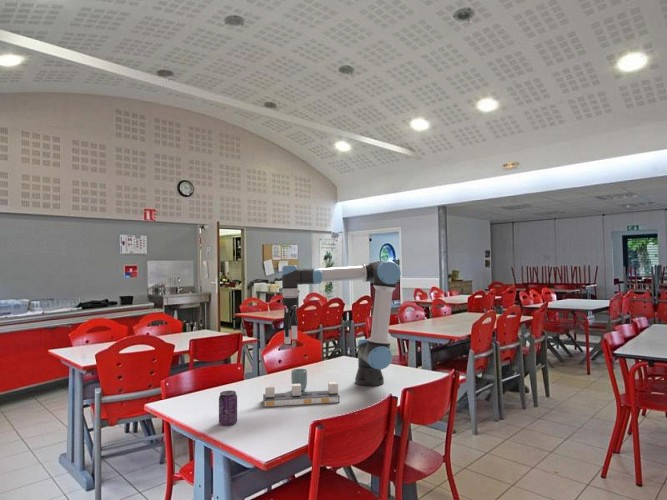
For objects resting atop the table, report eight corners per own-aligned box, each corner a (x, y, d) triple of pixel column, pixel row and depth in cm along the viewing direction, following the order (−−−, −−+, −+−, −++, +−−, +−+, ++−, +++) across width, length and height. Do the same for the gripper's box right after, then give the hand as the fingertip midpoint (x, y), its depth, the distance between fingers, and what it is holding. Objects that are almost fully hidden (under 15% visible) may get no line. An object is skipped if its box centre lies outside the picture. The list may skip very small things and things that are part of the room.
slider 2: (300, 392, 207) (300, 383, 207) (301, 395, 203) (301, 385, 203) (291, 393, 206) (291, 384, 206) (292, 395, 202) (292, 386, 203)
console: (335, 396, 213) (335, 389, 213) (339, 402, 202) (339, 395, 202) (263, 400, 207) (263, 393, 207) (263, 407, 197) (263, 400, 197)
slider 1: (274, 394, 205) (274, 384, 205) (274, 396, 201) (274, 387, 201) (265, 394, 204) (265, 385, 204) (265, 397, 200) (265, 387, 201)
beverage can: (220, 420, 180) (220, 390, 181) (238, 419, 181) (238, 389, 181) (217, 426, 173) (217, 395, 174) (236, 426, 174) (235, 394, 174)
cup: (304, 393, 219) (304, 372, 220) (289, 392, 221) (289, 371, 221) (308, 388, 227) (308, 368, 227) (294, 388, 228) (293, 368, 229)
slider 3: (336, 390, 210) (336, 381, 210) (338, 393, 206) (338, 383, 206) (328, 391, 209) (328, 382, 209) (329, 393, 205) (329, 384, 205)
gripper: (289, 295, 230) (289, 337, 229) (275, 299, 205) (276, 345, 204) (303, 295, 229) (304, 337, 228) (291, 298, 204) (292, 345, 203)
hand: (291, 341), depth 216 cm, fingers open, 13 cm apart
